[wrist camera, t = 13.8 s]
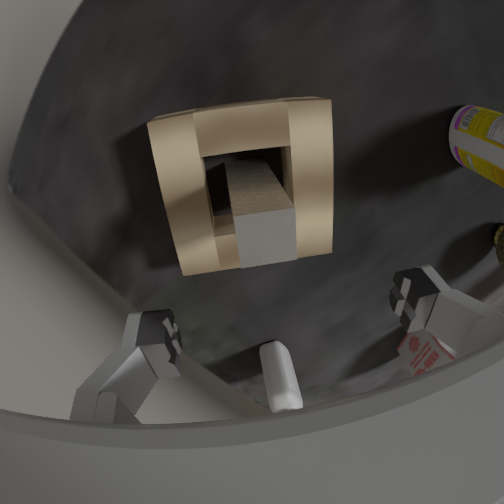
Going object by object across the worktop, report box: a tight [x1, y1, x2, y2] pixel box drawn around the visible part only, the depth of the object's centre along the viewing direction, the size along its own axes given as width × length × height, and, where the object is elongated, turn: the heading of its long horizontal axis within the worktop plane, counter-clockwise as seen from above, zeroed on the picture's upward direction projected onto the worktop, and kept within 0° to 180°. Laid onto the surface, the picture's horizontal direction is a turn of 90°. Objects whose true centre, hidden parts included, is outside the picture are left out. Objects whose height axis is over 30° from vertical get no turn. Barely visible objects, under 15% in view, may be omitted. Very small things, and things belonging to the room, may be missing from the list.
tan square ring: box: [147, 97, 333, 276], centre depth 22 cm, size 12×12×4 cm
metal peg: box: [225, 157, 297, 268], centre depth 19 cm, size 3×3×10 cm
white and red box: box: [397, 329, 458, 377], centre depth 34 cm, size 4×7×10 cm, turn 166°
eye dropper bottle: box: [259, 341, 303, 413], centre depth 30 cm, size 4×6×12 cm
